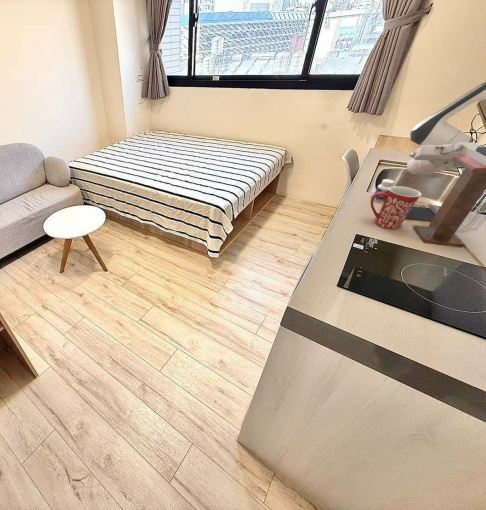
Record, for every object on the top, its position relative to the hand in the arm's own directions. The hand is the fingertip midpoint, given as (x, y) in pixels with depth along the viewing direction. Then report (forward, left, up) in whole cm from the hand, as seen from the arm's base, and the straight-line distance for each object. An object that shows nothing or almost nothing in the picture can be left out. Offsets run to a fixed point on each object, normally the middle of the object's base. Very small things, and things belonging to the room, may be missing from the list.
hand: (471, 147), depth 87 cm
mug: (+14, +4, -28) cm, 32 cm away
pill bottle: (+10, -18, -28) cm, 34 cm away
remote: (0, +5, -1) cm, 5 cm away
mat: (0, -8, -28) cm, 29 cm away
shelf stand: (0, +10, -28) cm, 29 cm away
